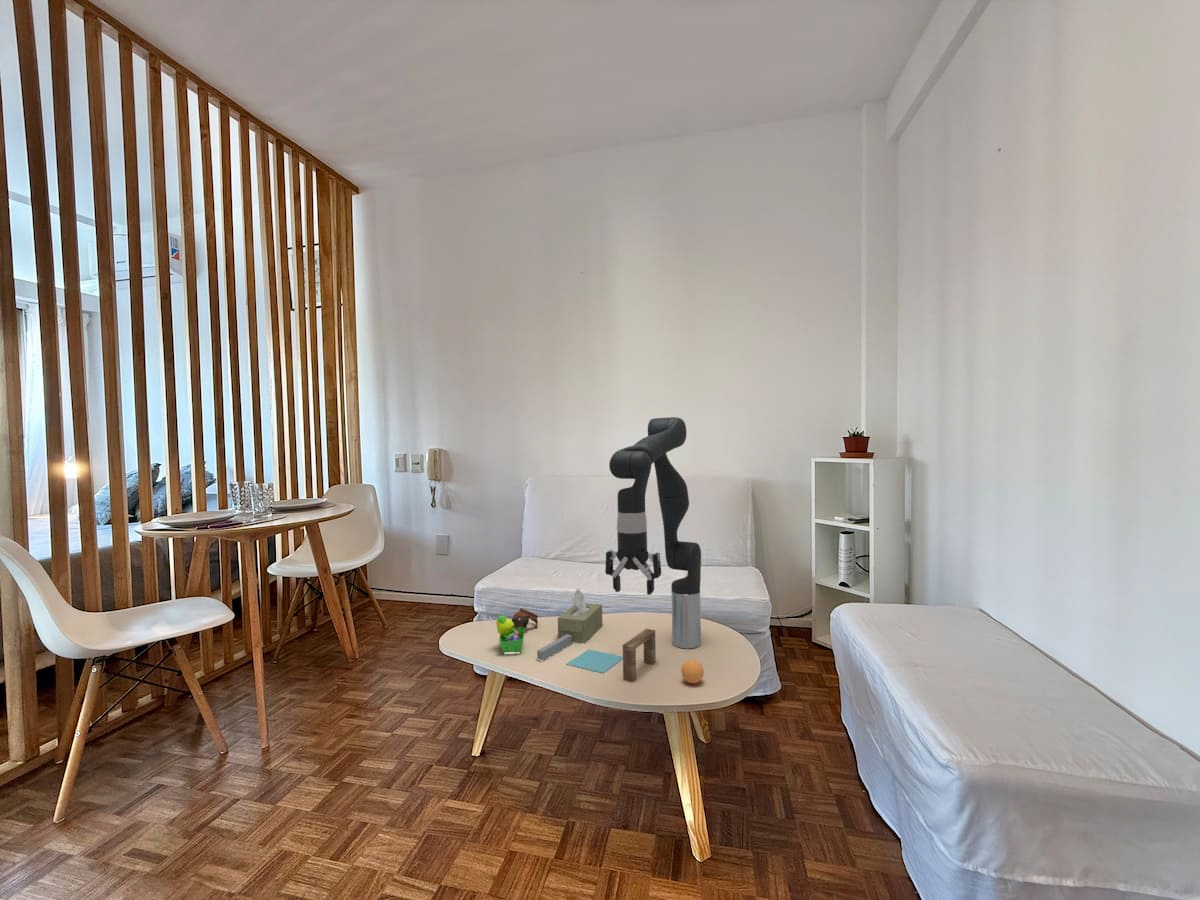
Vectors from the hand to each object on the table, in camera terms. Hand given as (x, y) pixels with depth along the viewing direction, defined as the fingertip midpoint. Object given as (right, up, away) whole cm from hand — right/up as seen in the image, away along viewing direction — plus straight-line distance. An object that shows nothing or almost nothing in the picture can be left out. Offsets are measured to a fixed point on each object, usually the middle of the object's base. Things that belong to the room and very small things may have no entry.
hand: (633, 592), depth 137 cm
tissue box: (-15, -28, +50) cm, 59 cm away
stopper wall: (-23, -28, +33) cm, 49 cm away
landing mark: (-10, -28, +25) cm, 39 cm away
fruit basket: (-37, -28, +36) cm, 59 cm away
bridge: (+3, -27, +18) cm, 33 cm away
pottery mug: (-36, -28, +55) cm, 71 cm away
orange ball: (+17, -24, +10) cm, 31 cm away
